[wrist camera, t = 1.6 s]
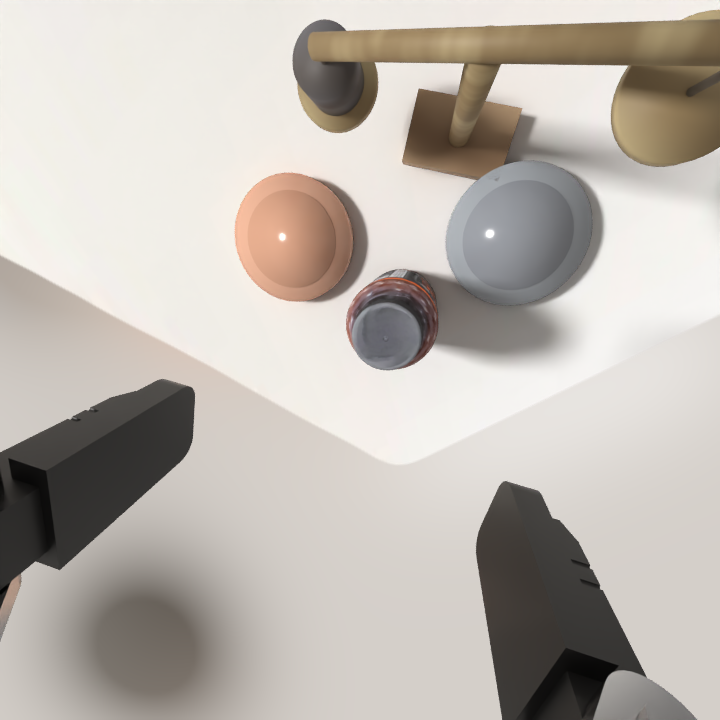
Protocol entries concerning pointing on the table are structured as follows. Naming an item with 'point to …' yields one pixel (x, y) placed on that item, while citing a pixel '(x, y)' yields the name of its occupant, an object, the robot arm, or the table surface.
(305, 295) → the terracotta dish
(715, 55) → the balance
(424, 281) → the supplement bottle
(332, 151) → the table surface
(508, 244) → the slate dish
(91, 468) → the robot arm
